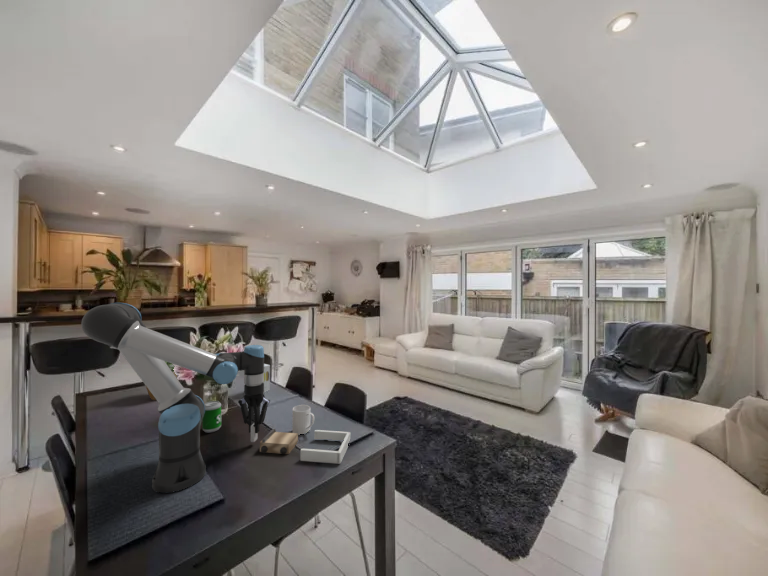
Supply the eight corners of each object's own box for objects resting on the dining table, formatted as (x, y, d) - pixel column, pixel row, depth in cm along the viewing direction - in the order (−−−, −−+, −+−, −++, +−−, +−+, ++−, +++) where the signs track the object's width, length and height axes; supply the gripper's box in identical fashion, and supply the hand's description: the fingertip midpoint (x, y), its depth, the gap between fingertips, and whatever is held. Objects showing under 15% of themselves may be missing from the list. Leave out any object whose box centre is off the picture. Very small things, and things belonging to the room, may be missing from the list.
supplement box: (256, 396, 182) (256, 368, 182) (247, 393, 187) (247, 365, 187) (270, 391, 190) (270, 364, 190) (261, 389, 195) (261, 362, 195)
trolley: (259, 453, 121) (259, 439, 121) (271, 440, 131) (271, 428, 131) (288, 455, 120) (288, 442, 120) (298, 442, 130) (298, 429, 130)
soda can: (213, 434, 136) (213, 407, 136) (198, 432, 137) (198, 405, 137) (225, 426, 143) (225, 400, 143) (211, 425, 145) (211, 399, 144)
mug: (288, 432, 138) (288, 408, 138) (302, 425, 145) (303, 403, 145) (306, 440, 131) (306, 415, 131) (320, 433, 137) (320, 409, 137)
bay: (340, 463, 114) (340, 453, 114) (300, 460, 116) (300, 450, 116) (350, 441, 130) (350, 432, 130) (315, 439, 132) (315, 429, 132)
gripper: (273, 381, 130) (273, 436, 130) (244, 379, 131) (244, 434, 131) (264, 387, 122) (264, 446, 122) (233, 385, 124) (233, 443, 124)
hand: (254, 440), depth 127 cm, fingers closed
